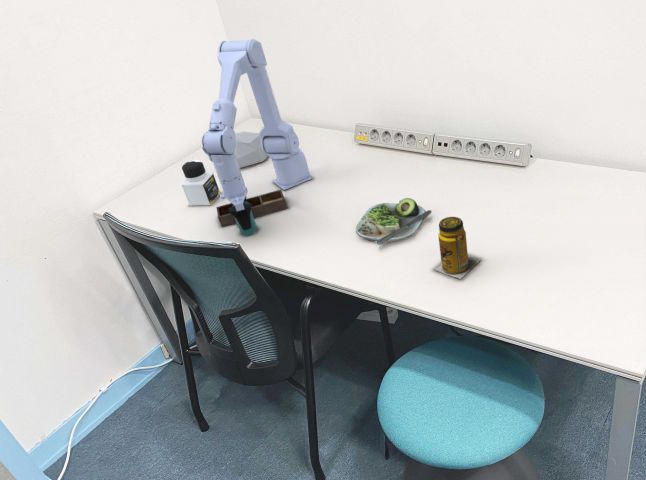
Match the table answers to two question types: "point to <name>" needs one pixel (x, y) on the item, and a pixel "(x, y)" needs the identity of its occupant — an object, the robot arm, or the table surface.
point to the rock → (248, 149)
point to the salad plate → (391, 221)
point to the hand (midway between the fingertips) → (245, 222)
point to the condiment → (454, 248)
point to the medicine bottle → (199, 184)
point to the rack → (255, 206)
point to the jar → (253, 225)
